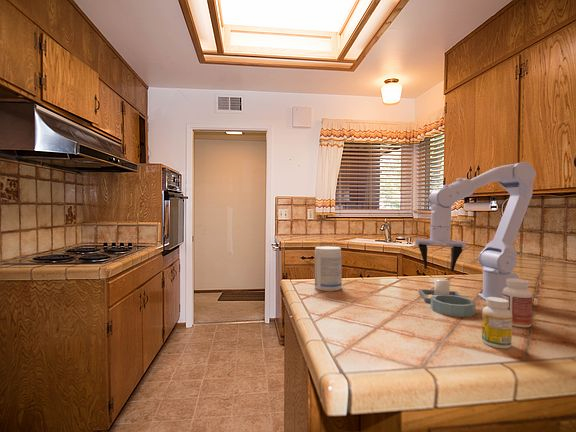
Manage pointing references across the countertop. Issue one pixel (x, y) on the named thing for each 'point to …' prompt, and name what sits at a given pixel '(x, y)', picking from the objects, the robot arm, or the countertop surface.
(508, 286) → the pill bottle
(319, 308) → the countertop surface
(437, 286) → the pestle
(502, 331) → the supplement bottle
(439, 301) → the bowl
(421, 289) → the empty gray rectangular frame
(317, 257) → the supplement tub
